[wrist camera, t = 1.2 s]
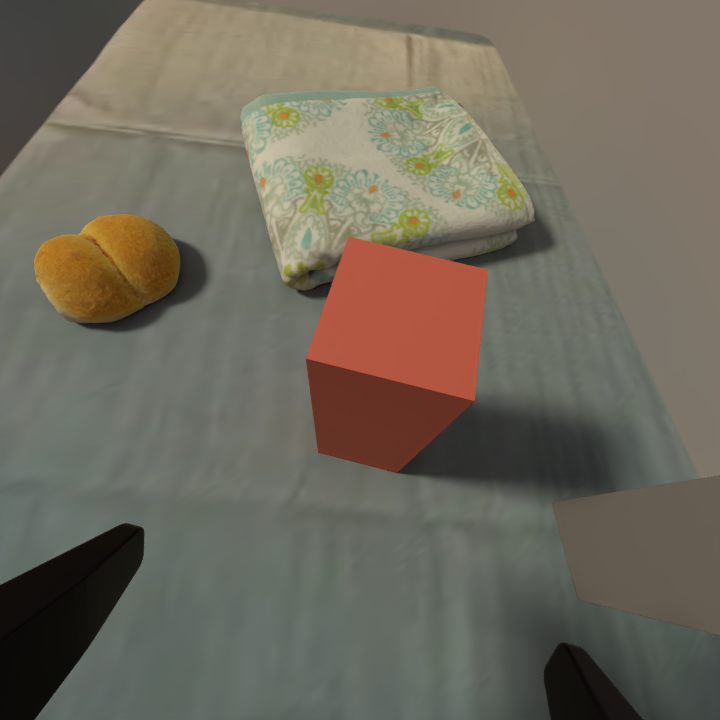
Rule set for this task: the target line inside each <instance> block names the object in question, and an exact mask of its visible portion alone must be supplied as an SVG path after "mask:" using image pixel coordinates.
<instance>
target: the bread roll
mask: <svg viewBox="0 0 720 720" xmlns="http://www.w3.org/2000/svg"><path fill="white" fill-rule="evenodd" d="M34 267H35V272H36V278H37V279H36V281H37V282H38V283H39V284H40V286H41V288H42V290H43V291H44V292H45V294H46V296H47V298H48V299H49V301H50V302H51V303H52V305H53V306H54V307H55V309H56V310H57V312H58V313H59V314H60V315H62V316H63V317H64V318H65V319H66V320H68V321H70V322H76V323H106V322H113V321H117V320H120V319H122V318H124V317H126V316H129V315H131V314H133V313H134V312H136V311H138V310H140V309H142V308H143V307H144V306H145V305H147V304H150V303H153V302H156V301H157V300H159V299H161V298H162V297H164V296H166V295H167V294H168V293H170V292H171V291H172V290H173V289H174V287H175V286H176V284H177V281H178V276H179V270H180V254H179V250H178V247H177V245H176V243H175V242H174V240H173V239H172V238H171V236H170V235H169V234H168V233H167V232H166V231H165V230H164V229H163V228H162V227H160V226H159V225H158V224H156V223H154V222H153V221H151V220H149V219H146V218H144V217H141V216H136V215H129V214H118V215H108V216H100V217H98V218H97V219H95V220H93V221H91V222H90V223H88V224H87V225H86V226H85V227H84V228H83V230H82V231H81V233H80V234H78V235H72V234H69V235H62V236H58V237H55V238H53V239H50V240H48V241H46V242H45V243H43V245H42V246H41V247H40V249H39V250H38V252H37V255H36V257H35V260H34Z"/></svg>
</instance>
